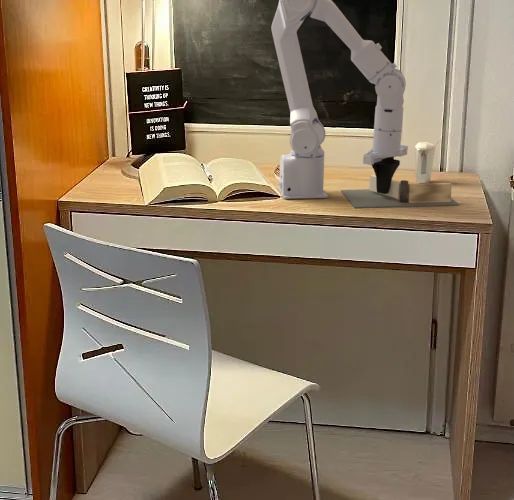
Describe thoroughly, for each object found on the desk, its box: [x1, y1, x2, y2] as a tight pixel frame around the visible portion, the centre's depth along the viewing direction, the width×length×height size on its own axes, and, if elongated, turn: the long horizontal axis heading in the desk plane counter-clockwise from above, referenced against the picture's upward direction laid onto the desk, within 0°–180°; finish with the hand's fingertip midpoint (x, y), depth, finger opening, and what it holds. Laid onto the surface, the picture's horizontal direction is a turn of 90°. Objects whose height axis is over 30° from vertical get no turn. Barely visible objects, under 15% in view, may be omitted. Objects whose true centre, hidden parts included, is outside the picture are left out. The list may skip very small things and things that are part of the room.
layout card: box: [340, 188, 460, 209], centre depth 192 cm, size 22×14×1 cm, turn 97°
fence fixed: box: [400, 179, 453, 203], centre depth 188 cm, size 11×2×4 cm, turn 97°
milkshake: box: [414, 139, 441, 183], centre depth 205 cm, size 4×5×10 cm
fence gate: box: [369, 174, 401, 199], centre depth 192 cm, size 9×1×3 cm, turn 35°
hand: (383, 192), depth 191 cm, fingers closed, pressing on fence gate
